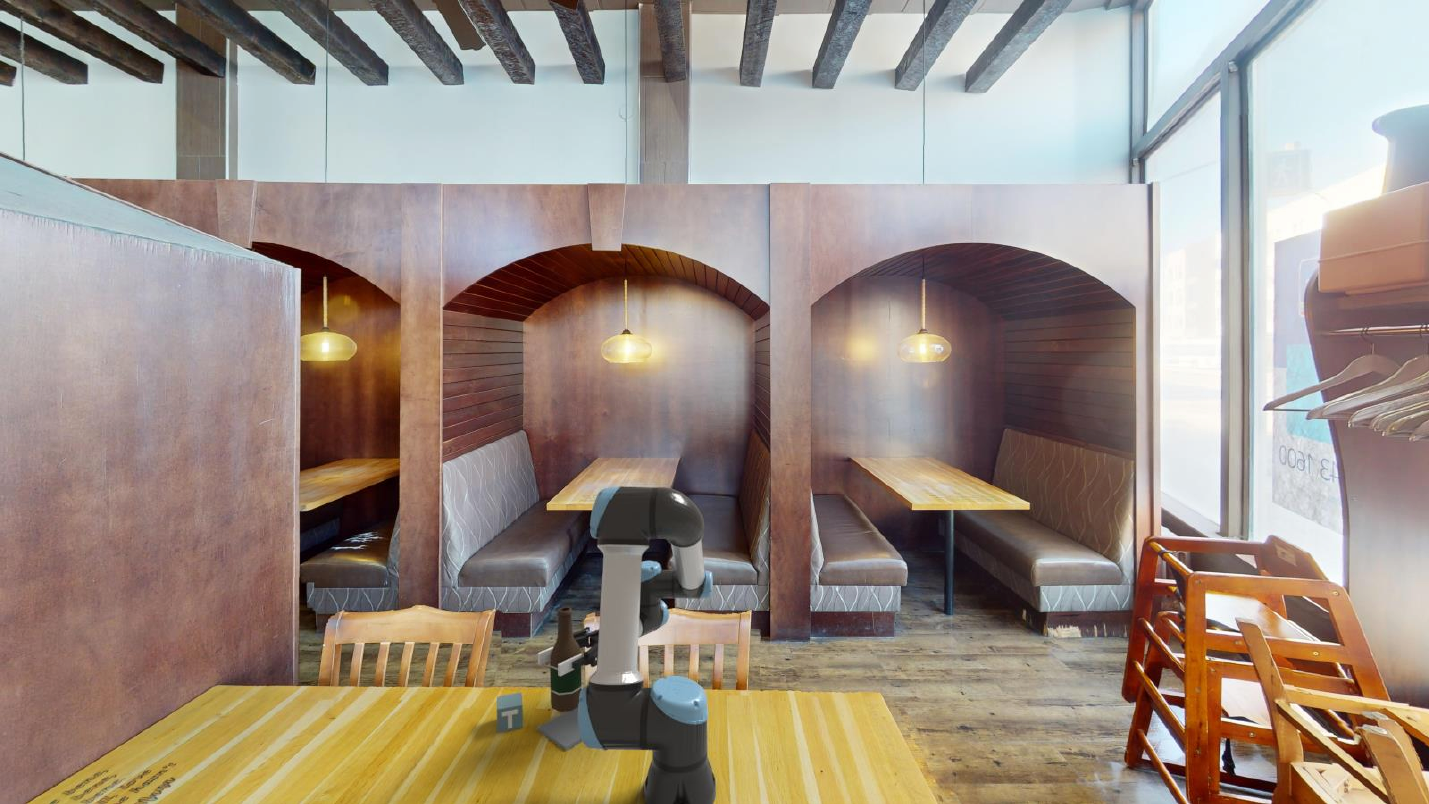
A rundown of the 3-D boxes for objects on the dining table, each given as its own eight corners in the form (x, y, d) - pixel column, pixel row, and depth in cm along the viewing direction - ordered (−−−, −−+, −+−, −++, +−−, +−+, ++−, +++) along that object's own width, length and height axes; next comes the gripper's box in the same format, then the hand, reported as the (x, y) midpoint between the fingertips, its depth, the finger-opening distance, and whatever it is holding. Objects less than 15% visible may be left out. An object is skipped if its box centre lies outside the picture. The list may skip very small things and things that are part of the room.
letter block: (497, 719, 151) (496, 696, 150) (522, 714, 153) (521, 692, 152) (497, 733, 145) (496, 710, 144) (523, 728, 147) (522, 705, 147)
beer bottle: (574, 715, 140) (572, 617, 139) (544, 711, 142) (542, 614, 140) (587, 696, 148) (586, 603, 146) (559, 693, 150) (557, 601, 148)
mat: (606, 726, 147) (606, 723, 147) (566, 750, 138) (566, 747, 138) (576, 708, 155) (576, 705, 155) (537, 730, 146) (536, 727, 146)
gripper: (648, 656, 152) (575, 695, 134) (596, 633, 165) (524, 666, 147) (647, 627, 151) (575, 663, 134) (596, 607, 164) (524, 636, 147)
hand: (548, 664), depth 140 cm, fingers closed on beer bottle, 7 cm apart
